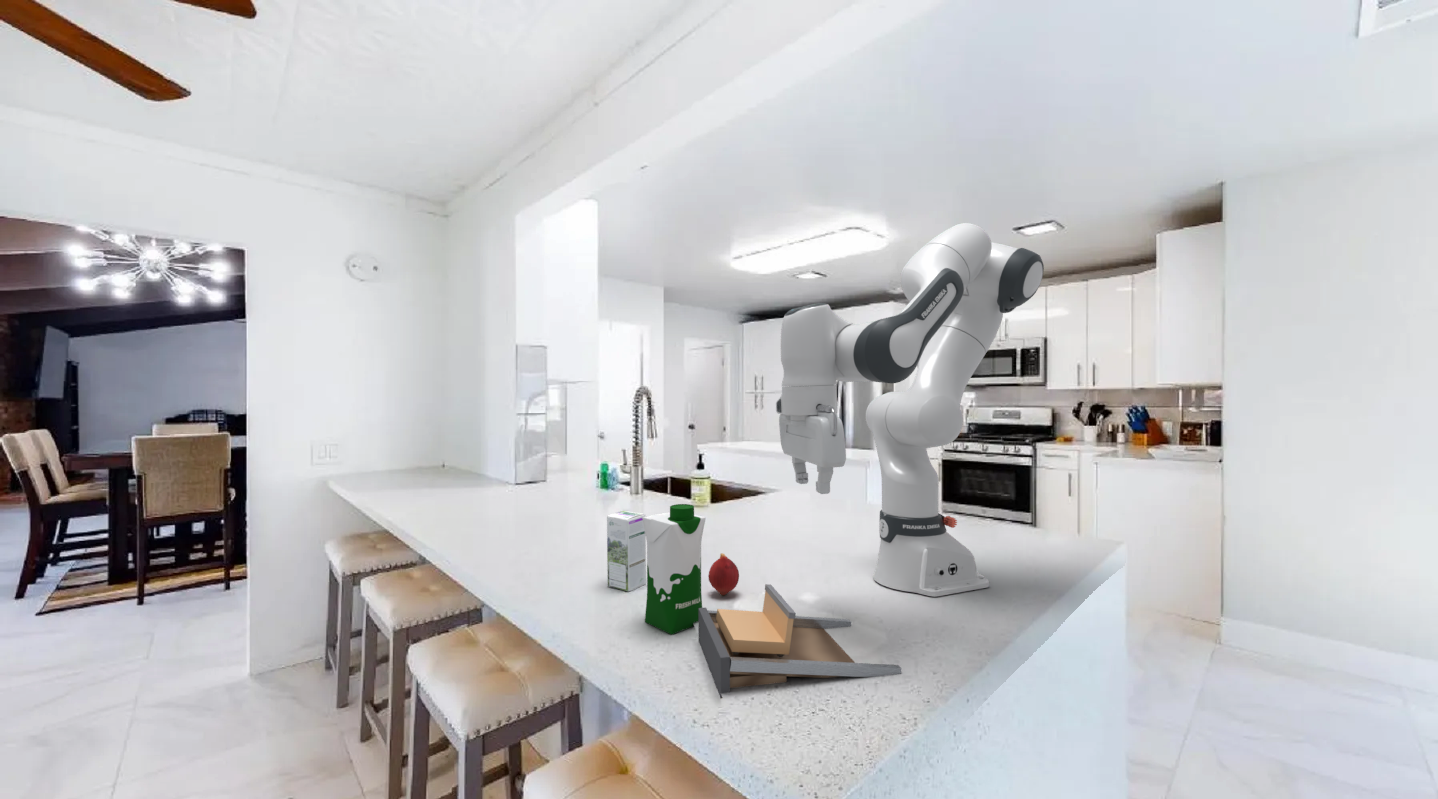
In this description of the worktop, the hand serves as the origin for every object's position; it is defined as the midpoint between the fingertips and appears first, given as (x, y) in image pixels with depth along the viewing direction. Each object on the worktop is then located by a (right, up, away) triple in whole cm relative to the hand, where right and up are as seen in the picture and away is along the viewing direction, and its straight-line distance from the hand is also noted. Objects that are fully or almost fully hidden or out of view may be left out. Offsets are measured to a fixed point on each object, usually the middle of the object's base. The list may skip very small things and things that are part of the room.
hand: (812, 488), depth 94 cm
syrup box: (-34, -23, +21) cm, 46 cm away
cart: (-11, -21, -11) cm, 26 cm away
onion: (-14, -23, +16) cm, 32 cm away
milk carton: (-23, -23, +3) cm, 33 cm away
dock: (-4, -23, -10) cm, 26 cm away
